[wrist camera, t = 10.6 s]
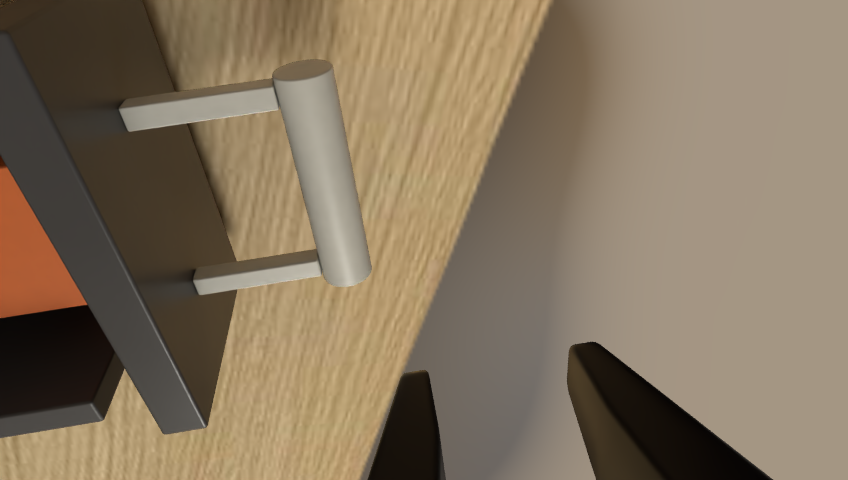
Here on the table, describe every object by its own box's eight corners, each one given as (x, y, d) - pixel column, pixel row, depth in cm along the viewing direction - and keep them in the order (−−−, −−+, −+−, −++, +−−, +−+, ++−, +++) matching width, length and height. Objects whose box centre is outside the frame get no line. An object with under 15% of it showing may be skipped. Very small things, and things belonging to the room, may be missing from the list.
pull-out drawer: (316, -64, 15) (306, -11, 10) (375, 252, 21) (390, 398, 16) (-379, 27, 14) (-834, 142, 9) (-113, 328, 20) (-282, 511, 15)
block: (42, 161, 12) (-150, 188, 12) (118, 300, 15) (-43, 326, 14) (103, 95, 16) (-48, 116, 15) (157, 217, 18) (27, 237, 18)
